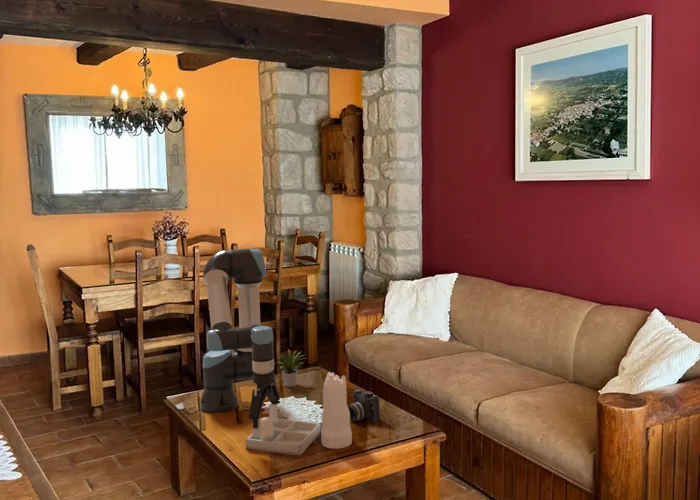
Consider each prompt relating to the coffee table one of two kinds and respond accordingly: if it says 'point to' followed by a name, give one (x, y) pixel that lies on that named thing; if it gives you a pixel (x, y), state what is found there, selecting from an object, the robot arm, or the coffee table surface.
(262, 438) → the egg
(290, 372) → the house plant
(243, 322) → the robot arm
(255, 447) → the divided tray
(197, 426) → the coffee table surface
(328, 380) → the decorative vase
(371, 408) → the camera
